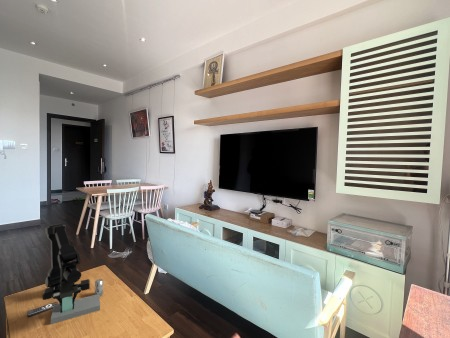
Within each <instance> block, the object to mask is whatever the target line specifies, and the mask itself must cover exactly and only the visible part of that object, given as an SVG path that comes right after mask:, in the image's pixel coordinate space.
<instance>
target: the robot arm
mask: <svg viewBox="0 0 450 338" xmlns="http://www.w3.org/2000/svg"><path fill="white" fill-rule="evenodd" d="M44 233H45V235H46V238H47V239H48V240H49V241H50V267H49V269H48V271H47V276H46V278H45V279H44V280H45V282H44V283H45V286H46V288H45V289H44V290H43V293H42V300H43V301H46V300H50V299H52V300H57V301H58V304H60V305H61V307H62V299H63V298H66V297H71V296H72V295H73V300H72V304H74V301H75V300H76V298H77V296H78V294H80V293H81V292H83V291H87V290H90V288H91V287H90V285H91V284H90V282H91V281H90V279H89V278H88V279H83V280H81V281H80V282H78V281H79V280H80V279H81V278H82V272H81V271H80V270H79V269H78V268H77V265H80V263H81V258H80V253H79V252H78V250H77V249H76V246H75V245H72V244H71V243H70V240H69V237H68V234H67V225H66V224H62V223H56V224H50V225H48V226H47V227H45V228H44ZM77 282H78V283H77Z"/></svg>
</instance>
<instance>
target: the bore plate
mask: <svg viewBox="0 0 450 338" xmlns="http://www.w3.org/2000/svg"><path fill="white" fill-rule="evenodd" d="M100 297H101V296H100ZM100 297H99V294H96V295H95V294H93V295H89V296H85V297H82V298H77V299H75V301H74V304H73V308H72V310H69V311H66V312H62V307H61V305H60V303H58V304H57V303H56V304H54V305H53V307H52V312H51V316H50V325H53V324H56V323H59V322H64V321H67V320H70V319H74V318H77V317H80V316H85V315H88V314H91V313H94V312H95V313H96V312H98V311H100V310H101V302H100V301H101V300H100V299H101V298H100Z"/></svg>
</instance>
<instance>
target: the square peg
mask: <svg viewBox="0 0 450 338" xmlns="http://www.w3.org/2000/svg"><path fill="white" fill-rule="evenodd" d="M72 300H73V295H72V296H71V297H66V298H63V299H62V311H61V313H62V312H66V311H69V310H73V309H74V308H73V304H72Z"/></svg>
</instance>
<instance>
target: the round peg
mask: <svg viewBox="0 0 450 338" xmlns="http://www.w3.org/2000/svg"><path fill="white" fill-rule="evenodd" d="M96 294H99V297H101V296H103V295H104V279H102V278H98V279H96V280H95V281H94V295H96Z"/></svg>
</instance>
